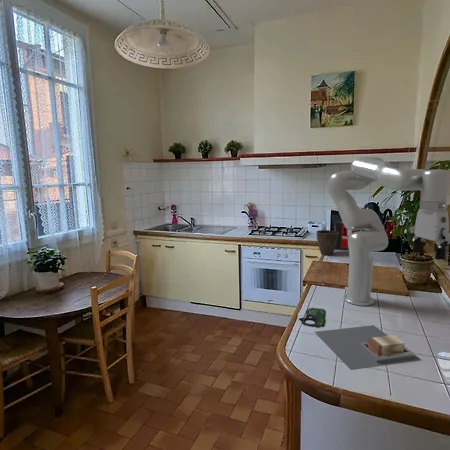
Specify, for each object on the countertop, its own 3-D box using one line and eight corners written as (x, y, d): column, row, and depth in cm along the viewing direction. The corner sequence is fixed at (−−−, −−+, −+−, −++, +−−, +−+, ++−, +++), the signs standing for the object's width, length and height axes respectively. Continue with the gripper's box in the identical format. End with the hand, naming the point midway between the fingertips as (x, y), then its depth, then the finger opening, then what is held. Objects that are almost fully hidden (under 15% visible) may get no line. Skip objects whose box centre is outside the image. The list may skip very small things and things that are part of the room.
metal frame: (358, 347, 105) (358, 342, 105) (393, 342, 108) (393, 338, 107) (376, 362, 97) (376, 358, 96) (413, 357, 99) (414, 353, 99)
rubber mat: (314, 332, 116) (314, 331, 116) (373, 326, 120) (373, 325, 120) (350, 371, 93) (350, 369, 93) (421, 361, 98) (422, 359, 98)
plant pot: (312, 252, 232) (313, 230, 229) (332, 251, 233) (333, 229, 231) (320, 257, 217) (321, 234, 214) (341, 256, 218) (342, 233, 216)
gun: (301, 306, 136) (326, 309, 133) (301, 309, 137) (326, 312, 133) (297, 323, 121) (325, 326, 118) (297, 326, 121) (324, 330, 118)
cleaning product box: (356, 248, 242) (358, 222, 239) (357, 250, 234) (359, 223, 231) (333, 246, 247) (335, 221, 244) (334, 249, 239) (335, 223, 235)
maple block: (392, 346, 105) (393, 335, 105) (403, 354, 101) (404, 343, 100) (367, 349, 104) (368, 338, 103) (377, 358, 99) (378, 346, 98)
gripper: (465, 208, 101) (459, 261, 104) (421, 203, 118) (417, 249, 121) (445, 209, 100) (439, 262, 102) (404, 204, 116) (400, 250, 119)
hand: (427, 255), depth 111 cm, fingers open, 9 cm apart
